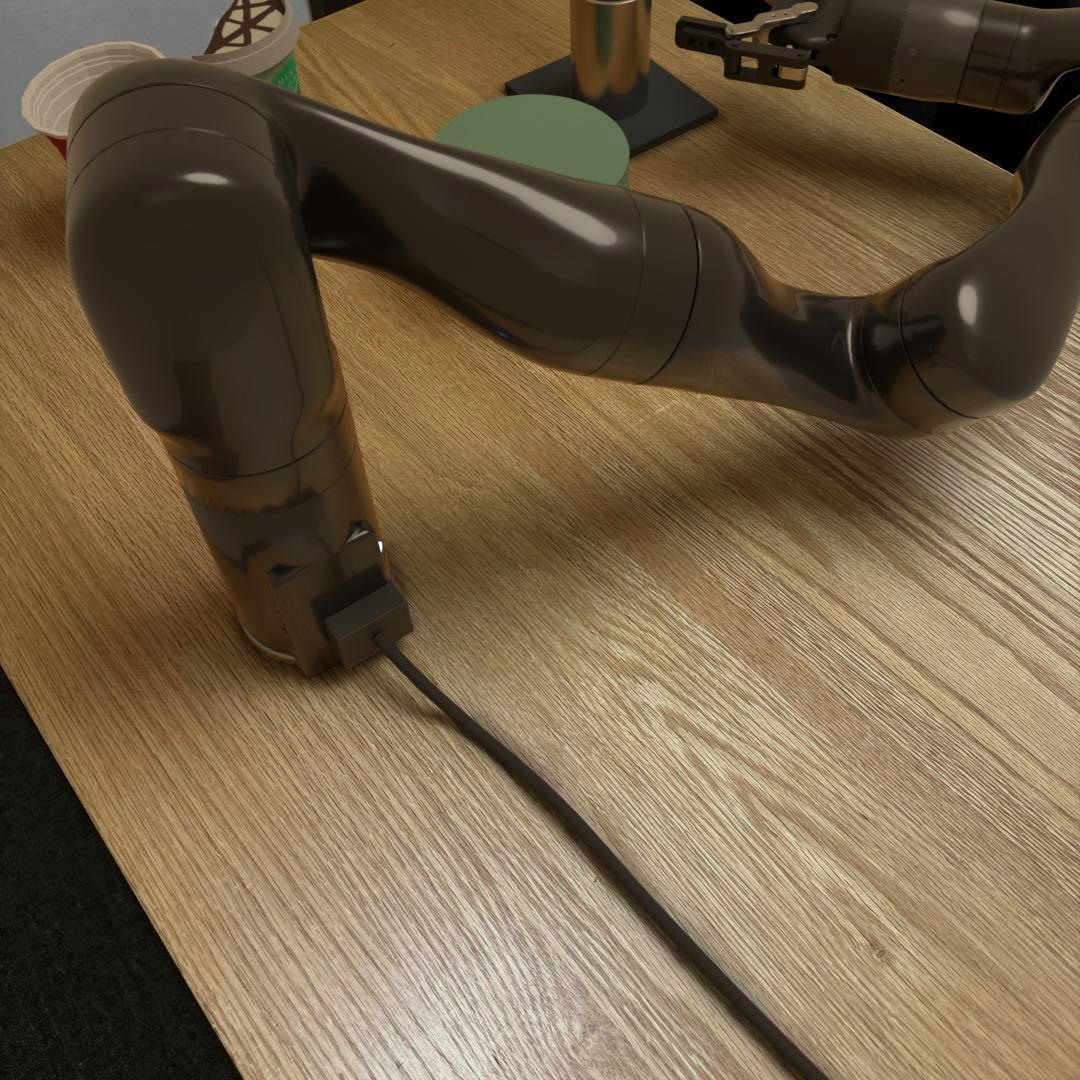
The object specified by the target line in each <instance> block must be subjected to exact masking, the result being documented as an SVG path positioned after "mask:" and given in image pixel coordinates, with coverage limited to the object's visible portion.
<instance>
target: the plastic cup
mask: <svg viewBox="0 0 1080 1080" xmlns="http://www.w3.org/2000/svg"><path fill="white" fill-rule="evenodd" d="M157 58H167V57H166V56H165V55H163V54H162V53H161V52H160V51H159V50H158V49H157V48H155V47H154V46H151V45H147V44H143V43H139V42H136V41H132V40H131V41H130V40H129V41H106V42H105V41H104V42H101V43H97V44H93V45H91V46H90V45H89V46H86V47H82V48H78V49H76V50H73V51H72V52H70V53H68V54H66V55H64V56H62V57H60V58H58V59H56V60H54V61H52V62H50V63H49V64H48V65H47V66H46V67H44V68H43V69H42V70H41V71H40V72H39V73H38V74H36V75H35V76H34V77H33V78H32V79H31V80H30V82H29V84H28V85H27V87H26V89H25V91H24V92H23V95H21V96H22V97H21V98H20V99H21V116H22V117H23V118H24V119H25V120H26V121H27V122H28V123H29V124H30V126H32V128H34V130H35V131H36V132H38V133H39V134H41V135H44V136H45V137H46V138H47V139H48V140H49V142H50V143H51V144H52V145H53V146H54V147H55V148H56V149H57V150H58V152H59V154H60V155H61V156H62V159H64V161H65V162H66V153H67V135H68V127H69V122H70V118H71V114H72V111H73V108H74V106H75V104H76V102H77V100H78V98H79V97H80V95H81V94H82V93H83V91H84V90H85V89H86V88H87V87H88V86H89V85H90V84H91V83H92V82H93V81H95V80H96V79H97V78H99V77H100V76H101V75H103V74H104V73H106V72H108V71H111V70H113V69H115V68H117V67H119V66H121V65H124V64H128V63H132V62H136V61H140V60H145V59H157Z"/></svg>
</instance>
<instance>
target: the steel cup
mask: <svg viewBox="0 0 1080 1080" xmlns="http://www.w3.org/2000/svg"><path fill="white" fill-rule="evenodd" d="M652 9H653V0H569V31H570V32H569V33H570V34H569V37H570V38H569V40H570V54H571V98H572V99H573V100H577V101H580V102H583V103H586V104H588V105H591V106H593V107H595V108H596V109H598V110H600V111H602V112H603V113H605V114H606V115H608V116H609V117H610V118H611V119H612V120H615V119H622V118H626V117H629V116H632V115H634V114H636V113H637V112H639V111H640V110H641V109H642V108H643V107H644V106H645V105H646V103H647V100H648V86H649V61H650V59H651V58H650V57H651V37H652V35H651V33H652Z"/></svg>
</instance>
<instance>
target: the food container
mask: <svg viewBox="0 0 1080 1080" xmlns="http://www.w3.org/2000/svg"><path fill="white" fill-rule="evenodd" d="M299 38H300V25H299V21H298V19H297V17H296V15H295V13H294V11H293V9H292V6H291V4H290V3H289V1H288V0H233V2H232V4H231V5H230V6H229V8H228V9H227V10H226V11H225V12H224V13H223V14H222V16H221V17H220V18H219V20H218V22H217V24H216V26H215V28H214V31H213V34H212V37H211V39H210V41H209V43H208V45H207V47H206V49H205V51H204V53H203V54H191V60H197V61H202V62H207V63H212V64H216V65H220V66H223V67H226V68H229V69H233V70H236V71H239V72H242V73H245V74H248V75H250V76H253V77H256V78H259V79H262V80H264V81H267V82H270V83H272V84H275V85H278V86H280V87H283V88H286V89H288V90H291V91H294V92H296V93H299V94H302V92H301V86H300V80H299V73H298V67H297V59H296V51H295V46H296V45H297V43H298V40H299Z"/></svg>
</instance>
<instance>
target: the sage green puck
mask: <svg viewBox="0 0 1080 1080" xmlns="http://www.w3.org/2000/svg"><path fill="white" fill-rule="evenodd" d="M432 141H436V142H440V143H444V144H447V145H451V146H456V147H460V148H464V149H468V150H472V151H476V152H480V153H484V154H487V155H491V156H495V157H498V158H502V159H506V160H510V161H514V162H517V163H521V164H525V165H528V166H532V167H535V168H539V169H543V170H546V171H550V172H553V173H557V174H561V175H565V176H570V177H574V178H579V179H584V180H589V181H595V182H600V183H604V184H609V185H614V186H618V187H622V188H626V189H630V190H631V186H630V158H629V156H630V154H629V145H628V142H627V139H626V137H625V135H624V133H623V131H622V130H621V128H620V127H619V126H618V125H617V123H616V122H615V121H613V120H612V119H611V118H610V117H609V116H608V115H606V114H605V113H603V112H602V111H600V110H598V109H596V108H595V107H593V106H591V105H588V104H586V103H583V102H580V101H577V100H573V99H570V98H565V97H560V96H553V95H539V94H529V95H515V96H511V95H508V96H502V97H498V98H494V99H490V100H487V101H484V102H481V103H478V104H476V105H474V106H470V107H469V108H467V109H465V110H463V111H461V112H460V113H458V114H457V115H455V116H454V117H452V118H451V119H450V120H448V121H447V122H446V123H444V124H443V126H442V127H441V128H440V129H439V130H438V131H437V133H436V134H435V136H434V137H433V139H432Z"/></svg>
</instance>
